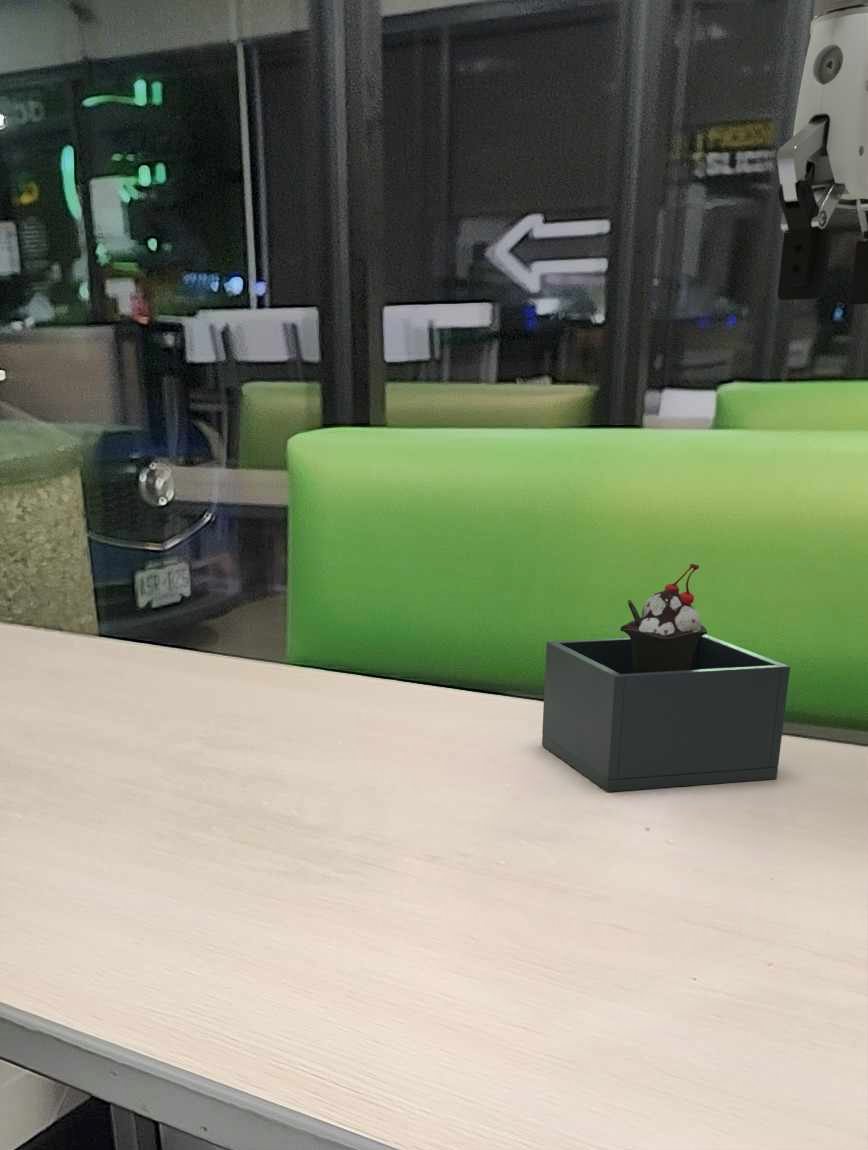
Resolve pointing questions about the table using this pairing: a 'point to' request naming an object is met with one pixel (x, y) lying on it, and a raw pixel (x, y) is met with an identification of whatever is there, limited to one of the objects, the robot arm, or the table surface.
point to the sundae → (665, 630)
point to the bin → (663, 715)
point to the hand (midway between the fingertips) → (837, 301)
